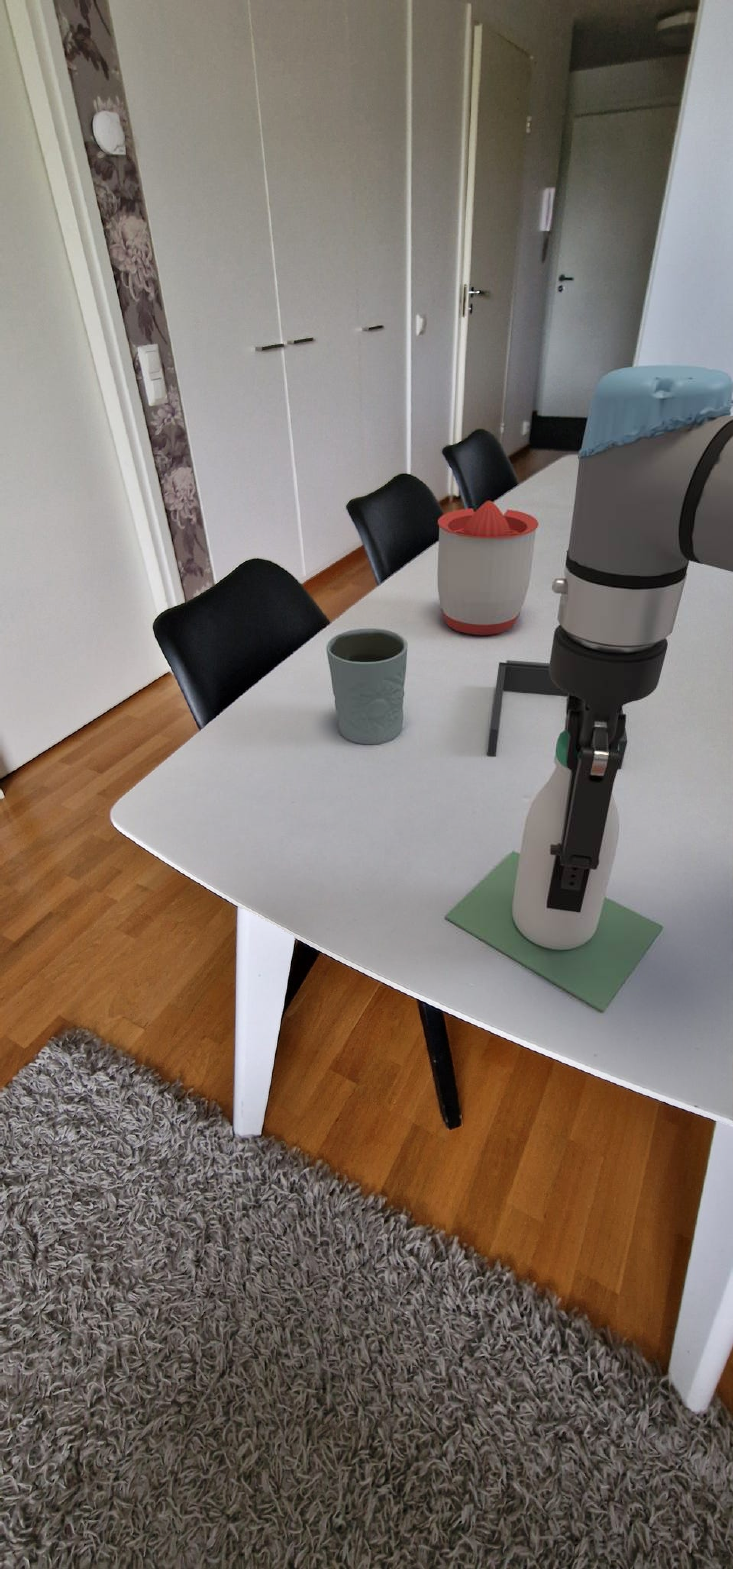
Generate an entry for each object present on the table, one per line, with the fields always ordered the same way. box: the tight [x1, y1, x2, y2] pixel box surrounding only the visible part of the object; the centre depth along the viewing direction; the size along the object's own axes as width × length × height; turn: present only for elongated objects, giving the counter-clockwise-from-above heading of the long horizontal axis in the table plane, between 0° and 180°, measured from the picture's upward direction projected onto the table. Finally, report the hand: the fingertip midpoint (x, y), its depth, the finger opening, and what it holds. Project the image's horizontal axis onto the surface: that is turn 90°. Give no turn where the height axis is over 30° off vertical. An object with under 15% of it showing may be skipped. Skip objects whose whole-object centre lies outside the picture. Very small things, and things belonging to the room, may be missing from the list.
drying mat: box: [444, 850, 664, 1014], centre depth 65 cm, size 16×12×1 cm
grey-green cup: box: [326, 627, 409, 746], centre depth 90 cm, size 10×10×12 cm
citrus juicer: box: [436, 500, 539, 636], centre depth 115 cm, size 16×17×20 cm
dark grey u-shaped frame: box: [487, 659, 628, 770], centre depth 92 cm, size 18×16×5 cm
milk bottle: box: [512, 729, 620, 950], centre depth 59 cm, size 8×8×20 cm
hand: (562, 872), depth 62 cm, fingers closed on milk bottle, 8 cm apart
